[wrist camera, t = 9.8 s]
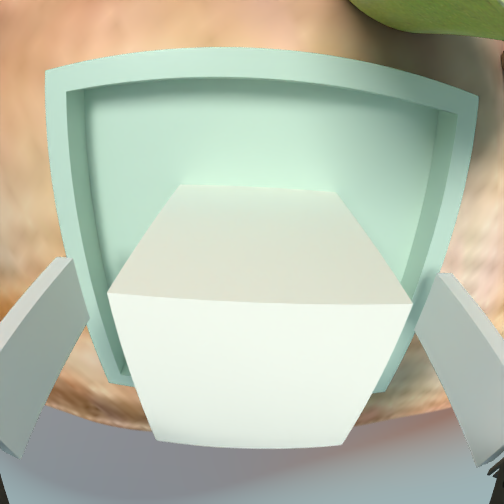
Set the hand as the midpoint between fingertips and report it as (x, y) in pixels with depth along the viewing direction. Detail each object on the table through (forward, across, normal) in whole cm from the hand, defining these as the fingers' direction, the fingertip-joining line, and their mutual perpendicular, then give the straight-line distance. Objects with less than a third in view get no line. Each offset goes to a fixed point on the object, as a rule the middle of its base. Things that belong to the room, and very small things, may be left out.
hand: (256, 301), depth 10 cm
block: (+3, 0, 0) cm, 3 cm away
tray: (+4, 0, 0) cm, 4 cm away
